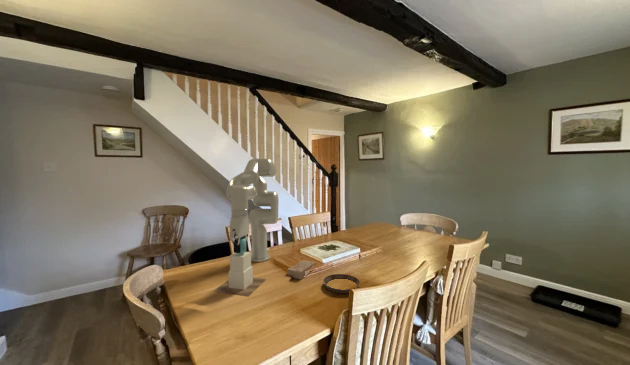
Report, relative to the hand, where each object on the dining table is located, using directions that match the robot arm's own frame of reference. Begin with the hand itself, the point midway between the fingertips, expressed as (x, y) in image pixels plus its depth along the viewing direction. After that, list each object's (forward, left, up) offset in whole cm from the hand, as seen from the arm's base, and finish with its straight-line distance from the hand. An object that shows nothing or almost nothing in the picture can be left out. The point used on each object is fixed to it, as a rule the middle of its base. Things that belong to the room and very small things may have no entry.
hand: (240, 250), depth 122 cm
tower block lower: (0, 0, -17) cm, 17 cm away
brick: (-24, +22, -19) cm, 38 cm away
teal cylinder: (0, 0, -1) cm, 1 cm away
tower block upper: (0, 0, -9) cm, 9 cm away
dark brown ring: (-14, +46, -19) cm, 52 cm away
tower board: (0, 0, -18) cm, 18 cm away
